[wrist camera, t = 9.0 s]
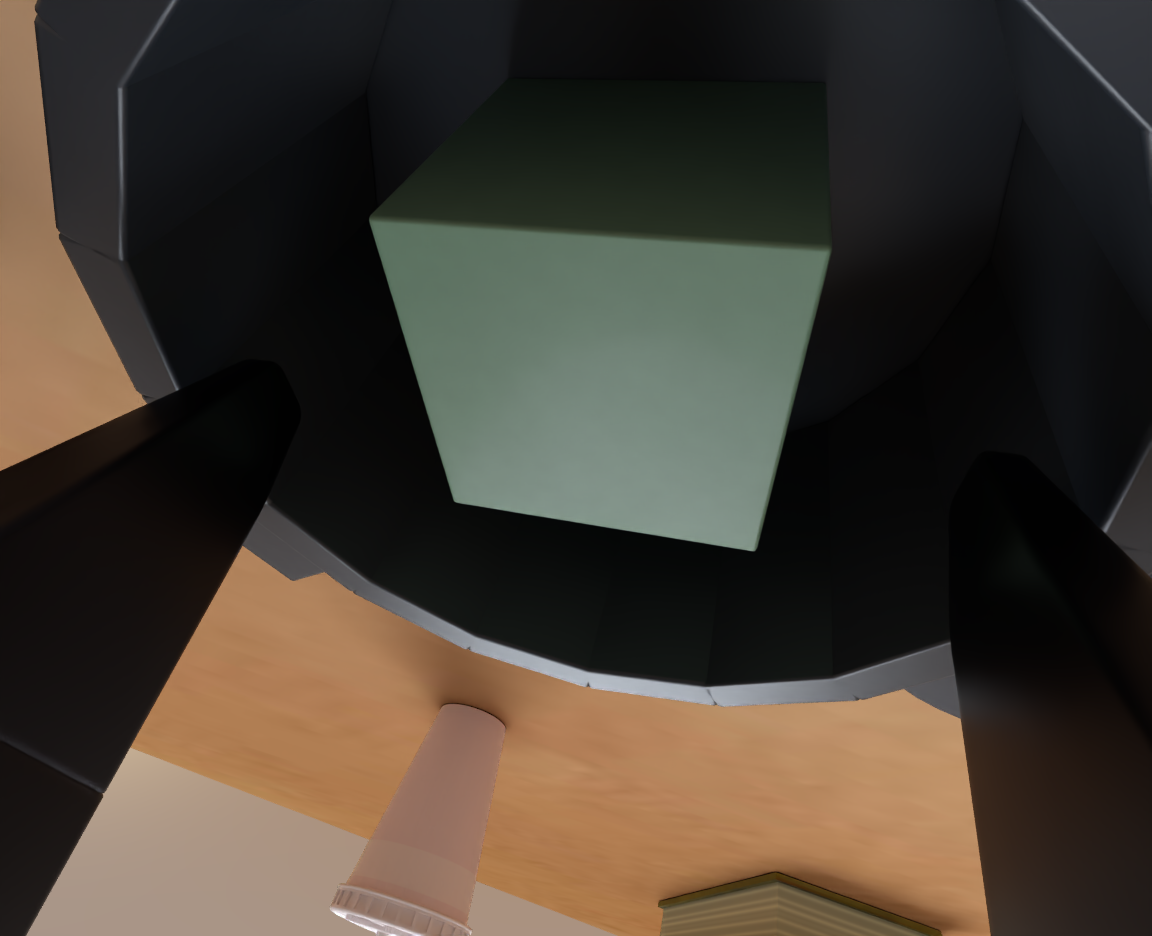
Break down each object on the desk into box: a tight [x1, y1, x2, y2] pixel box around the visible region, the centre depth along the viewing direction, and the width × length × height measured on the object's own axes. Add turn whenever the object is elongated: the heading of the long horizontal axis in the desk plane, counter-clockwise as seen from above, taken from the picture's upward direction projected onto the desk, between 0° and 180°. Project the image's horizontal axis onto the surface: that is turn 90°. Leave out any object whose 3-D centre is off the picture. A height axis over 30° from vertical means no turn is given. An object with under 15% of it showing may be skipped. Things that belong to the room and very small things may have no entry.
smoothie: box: [330, 704, 506, 936], centre depth 30 cm, size 6×6×14 cm
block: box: [369, 78, 832, 551], centre depth 10 cm, size 5×5×5 cm
